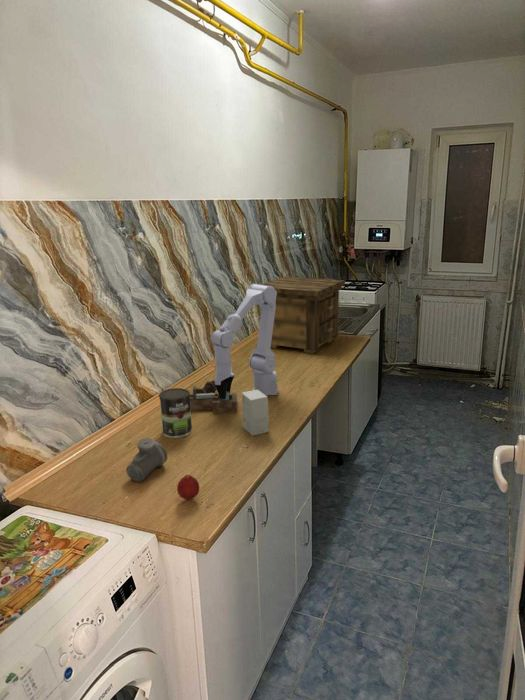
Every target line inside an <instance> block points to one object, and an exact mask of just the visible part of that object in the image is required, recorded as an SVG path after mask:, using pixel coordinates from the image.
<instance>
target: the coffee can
mask: <svg viewBox="0 0 525 700" xmlns="http://www.w3.org/2000/svg"><path fill="white" fill-rule="evenodd" d="M190 394H191V392H190V390H188V389H186V388H181V387H176V388H175V387H174V388H169V389H164V390H162V391H160V392H159V393H158V398H159V404H160V405H159V407H160V419H161V431H162V433H161V434H162V435H163V436H164V437H166V438H171V439H177V438H179V439H180V438H184V437H187V436H189V435H190V434H191V433H192V432H193V426H192V413H191V411H192V410H191V409H190Z"/></svg>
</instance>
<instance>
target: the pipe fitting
mask: <svg viewBox="0 0 525 700" xmlns="http://www.w3.org/2000/svg"><path fill="white" fill-rule="evenodd" d="M137 449H138V452H137V453H136V454H135V455H134V456H133V458H132V461H131V462H130V463H129V464H128V465H127V466H126V469H125V470H126V474H127V477H129V479H130V480H132V481H133V482H136V481H137V482H136V483H140V482H142V481H144V480H145V479H146V478H147V476H148V475H149V474H150V473H151V472H152V471H153V470H154V469H155V468H159V467H162V466H163V465H164V464H165V463H166V462H167V460H168V452H167V450H166V449H165V447H164V446H163V445H162V444H161V443H160V442H157V441H155V439H152V438H150V437H149V438H148V437H147V438H146V437H145V438H142V439H139V440H138V442H137Z"/></svg>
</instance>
